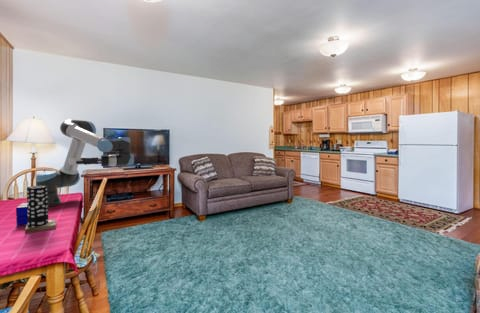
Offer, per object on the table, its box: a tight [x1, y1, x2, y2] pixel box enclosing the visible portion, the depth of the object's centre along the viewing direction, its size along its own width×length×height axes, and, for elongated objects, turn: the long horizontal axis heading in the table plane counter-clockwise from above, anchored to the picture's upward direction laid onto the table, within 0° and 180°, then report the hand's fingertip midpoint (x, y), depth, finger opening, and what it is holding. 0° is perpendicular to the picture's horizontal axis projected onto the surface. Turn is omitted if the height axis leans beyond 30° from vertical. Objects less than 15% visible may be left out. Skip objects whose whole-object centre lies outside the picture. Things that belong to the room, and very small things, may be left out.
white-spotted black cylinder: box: [26, 185, 49, 227], centre depth 124 cm, size 8×8×20 cm
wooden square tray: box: [24, 218, 57, 234], centre depth 127 cm, size 12×12×2 cm
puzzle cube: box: [15, 202, 28, 226], centre depth 134 cm, size 10×10×10 cm
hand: (68, 161), depth 143 cm, fingers open, 13 cm apart
